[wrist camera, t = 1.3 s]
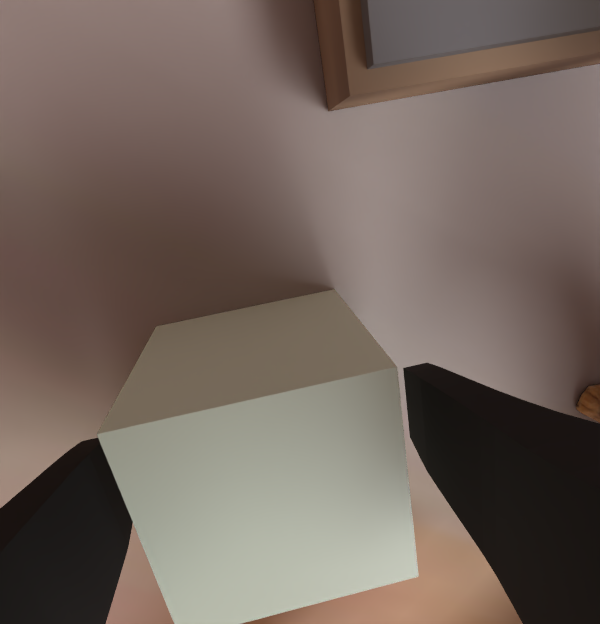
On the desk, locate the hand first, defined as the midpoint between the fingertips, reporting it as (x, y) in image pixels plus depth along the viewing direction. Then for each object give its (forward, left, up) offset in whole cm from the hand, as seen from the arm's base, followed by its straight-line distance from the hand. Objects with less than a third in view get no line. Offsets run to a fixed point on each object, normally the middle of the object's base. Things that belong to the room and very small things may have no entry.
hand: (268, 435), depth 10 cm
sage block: (0, 0, -3) cm, 3 cm away
